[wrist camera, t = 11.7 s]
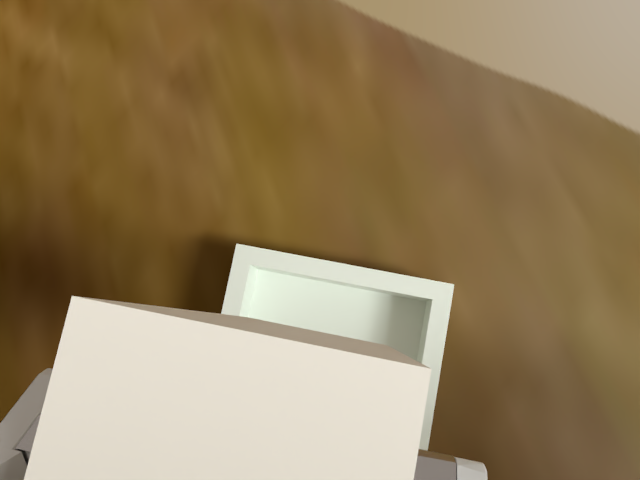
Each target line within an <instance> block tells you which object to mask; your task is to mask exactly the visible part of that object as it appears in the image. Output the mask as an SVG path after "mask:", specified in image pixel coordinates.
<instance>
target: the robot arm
mask: <svg viewBox="0 0 640 480" xmlns="http://www.w3.org/2000/svg"><path fill="white" fill-rule="evenodd" d="M52 370H53V369H50V368H47V369H46V370H44V371H43V372H41V373H40V374H38V375H37V377H36V378H35V379H34V381H33V382H32V383H31V384H30V386H29V387H28V388H27V389H26V391H25V392H24V393H23V395H22V396H21V397H20V398H19V400H18V401H17V402H16V404H15V405H14V406H13V407H12V409H11V410H10V411H9V413H8V414H7V415H6V416H5V418H4V419H3V420H2V422H1V423H0V480H24V477H25V473H26V469H27V466H28V462H29V458H30V454H31V450H32V446H33V443H34V439H35V435H36V431H37V427H38V423H39V420H40V416H41V412H42V408H43V404H44V401H45V397H46V393H47V389H48V385H49V381H50V378H51V374H52ZM414 480H487V470H486V468H485V465H484V464H483V463H482V462H477V461H472V460H467V459H462V458H457V457H454V456H452V455H447V454H442V453H437V452H432V451H427V450H422V449H419V450H418V456H417V462H416V468H415V474H414Z"/></svg>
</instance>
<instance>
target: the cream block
mask: <svg viewBox="0 0 640 480" xmlns="http://www.w3.org/2000/svg"><path fill="white" fill-rule="evenodd" d="M431 370H432V369H431V368H429V367H427V366H425V365H423V364H422V363H420V362H418V361H416V360H414V359H412V358H410V357H408V356H406V355H404V354H403V353H401V352H399V351H397V350H395V349H393V348H391V347H389V346H387V345H384V344H379V343H374V342H369V341H364V340H359V339H354V338H349V337H344V336H339V335H334V334H329V333H324V332H319V331H314V330H309V329H304V328H299V327H294V326H289V325H284V324H279V323H274V322H269V321H264V320H259V319H254V318H249V317H243V316H234V315H226V314H218V313H210V312H202V311H193V310H185V309H177V308H169V307H160V306H152V305H144V304H136V303H127V302H119V301H111V300H103V299H95V298H86V297H78V296H72V297H71V301H70V305H69V309H68V313H67V317H66V320H65V324H64V328H63V332H62V336H61V339H60V343H59V347H58V351H57V355H56V359H55V362H54V366H53V370H52V374H51V378H50V381H49V385H48V389H47V393H46V397H45V401H44V404H43V408H42V412H41V416H40V420H39V423H38V427H37V431H36V435H35V439H34V443H33V446H32V450H31V454H30V458H29V462H28V466H27V469H26V473H25V477H24V480H414V474H415V468H416V462H417V456H418V450H419V443H420V437H421V431H422V425H423V419H424V413H425V407H426V401H427V394H428V388H429V382H430V376H431Z"/></svg>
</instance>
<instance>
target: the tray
mask: <svg viewBox="0 0 640 480" xmlns="http://www.w3.org/2000/svg"><path fill="white" fill-rule="evenodd" d="M453 290H454V284H449V283H444V282H439V281H433V280H428V279H423V278H417V277H412V276H407V275H401V274H396V273H391V272H385V271H380V270H375V269H369V268H364V267H359V266H353V265H348V264H343V263H337V262H332V261H327V260H321V259H316V258H311V257H305V256H300V255H295V254H289V253H284V252H279V251H273V250H268V249H263V248H258V247H252V246H247V245H242V244H236V248H235V253H234V257H233V262H232V266H231V271H230V275H229V280H228V285H227V289H226V294H225V298H224V303H223V307H222V312H221V314H226V315H234V316H243V317H249V318H254V319H259V320H264V321H269V322H274V323H279V324H284V325H289V326H294V327H299V328H304V329H309V330H314V331H319V332H324V333H329V334H334V335H339V336H344V337H349V338H354V339H359V340H364V341H369V342H374V343H379V344H384V345H387V346H389V347H391V348H393V349H395V350H397V351H399V352H401V353H403V354H404V355H406V356H408V357H410V358H412V359H414V360H416V361H418V362H420V363H422V364H423V365H425V366H427V367H429V368H431V369H432V370H431V376H430V382H429V388H428V394H427V401H426V407H425V413H424V419H423V425H422V431H421V437H420V443H419V449H422V450H427V451H428V445H429V439H430V433H431V426H432V420H433V414H434V408H435V402H436V395H437V389H438V383H439V377H440V370H441V364H442V358H443V352H444V346H445V339H446V333H447V327H448V321H449V314H450V308H451V302H452V296H453Z"/></svg>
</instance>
